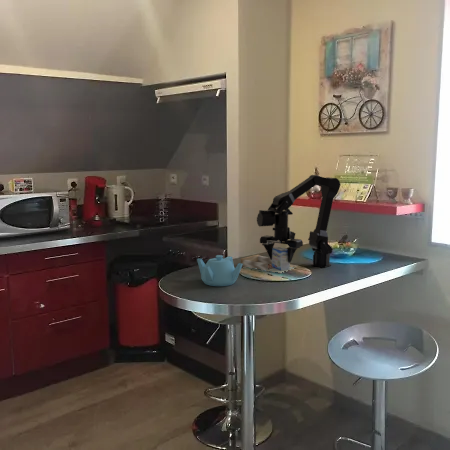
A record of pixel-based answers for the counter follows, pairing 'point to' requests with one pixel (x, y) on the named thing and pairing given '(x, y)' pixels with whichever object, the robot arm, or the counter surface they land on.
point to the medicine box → (280, 259)
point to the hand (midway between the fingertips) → (280, 261)
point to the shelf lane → (256, 262)
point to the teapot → (219, 271)
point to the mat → (279, 270)
